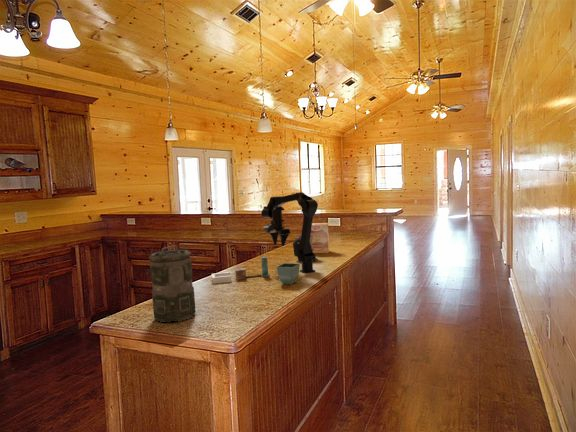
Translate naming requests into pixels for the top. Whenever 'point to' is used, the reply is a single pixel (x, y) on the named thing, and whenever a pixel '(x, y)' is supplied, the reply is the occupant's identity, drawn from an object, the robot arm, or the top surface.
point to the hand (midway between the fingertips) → (278, 245)
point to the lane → (221, 277)
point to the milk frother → (299, 242)
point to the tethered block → (242, 275)
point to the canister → (172, 285)
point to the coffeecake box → (320, 237)
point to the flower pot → (288, 273)
